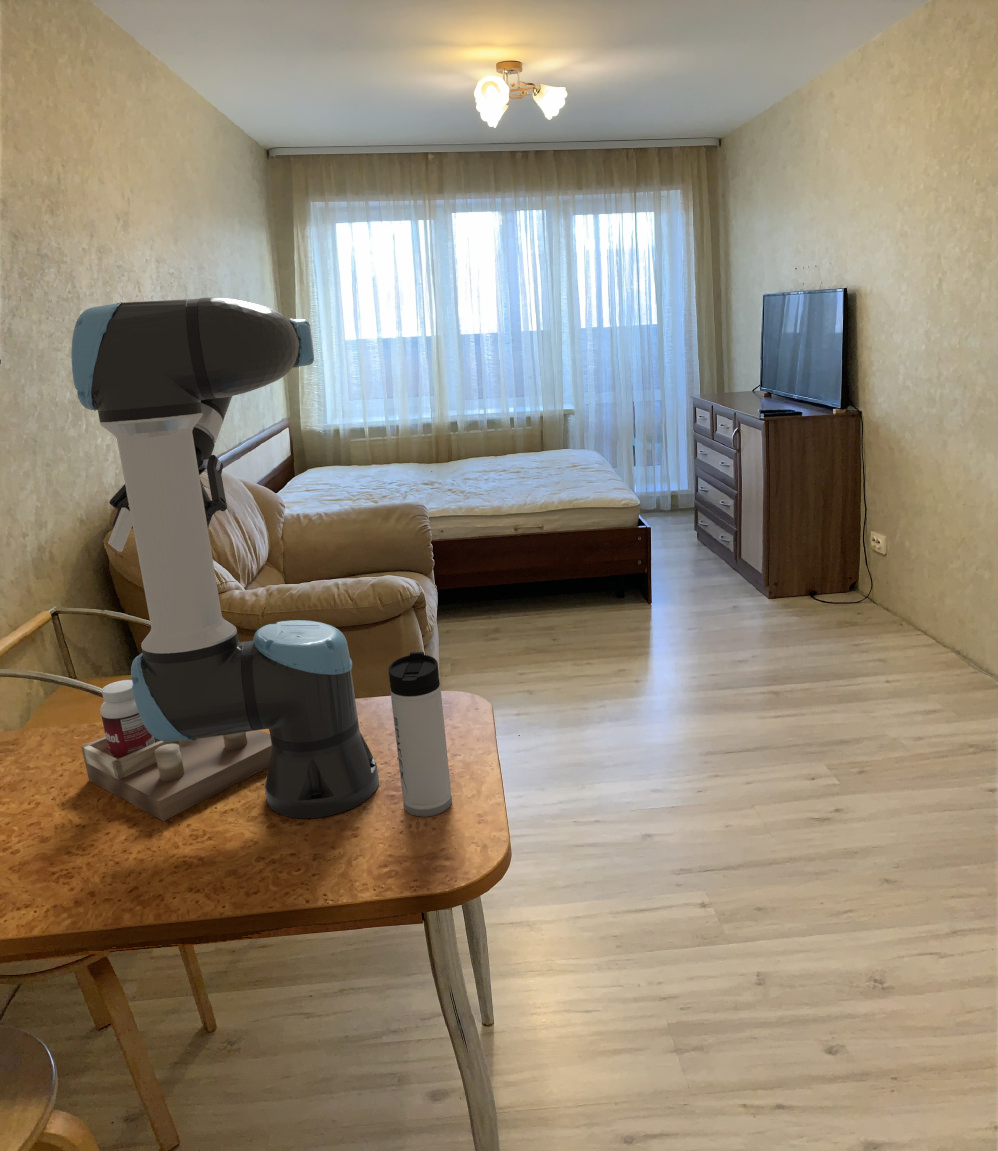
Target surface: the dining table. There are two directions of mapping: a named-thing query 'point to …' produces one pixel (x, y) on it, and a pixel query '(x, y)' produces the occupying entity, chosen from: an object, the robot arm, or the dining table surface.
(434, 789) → the travel mug
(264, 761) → the wooden organizer tray
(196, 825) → the dining table surface
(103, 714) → the pill bottle
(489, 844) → the dining table surface
